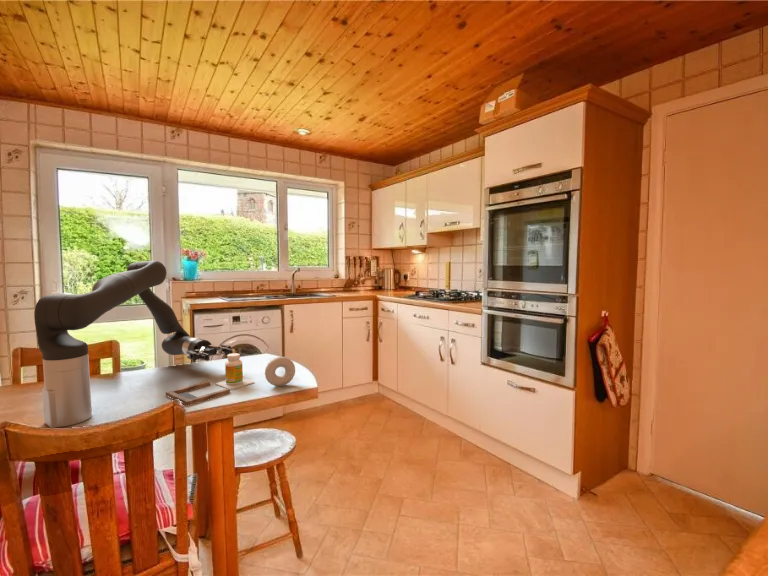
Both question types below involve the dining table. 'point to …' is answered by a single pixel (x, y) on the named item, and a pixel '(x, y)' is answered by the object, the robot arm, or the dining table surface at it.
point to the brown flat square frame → (191, 399)
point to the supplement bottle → (233, 369)
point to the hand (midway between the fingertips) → (220, 355)
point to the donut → (277, 363)
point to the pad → (244, 383)
